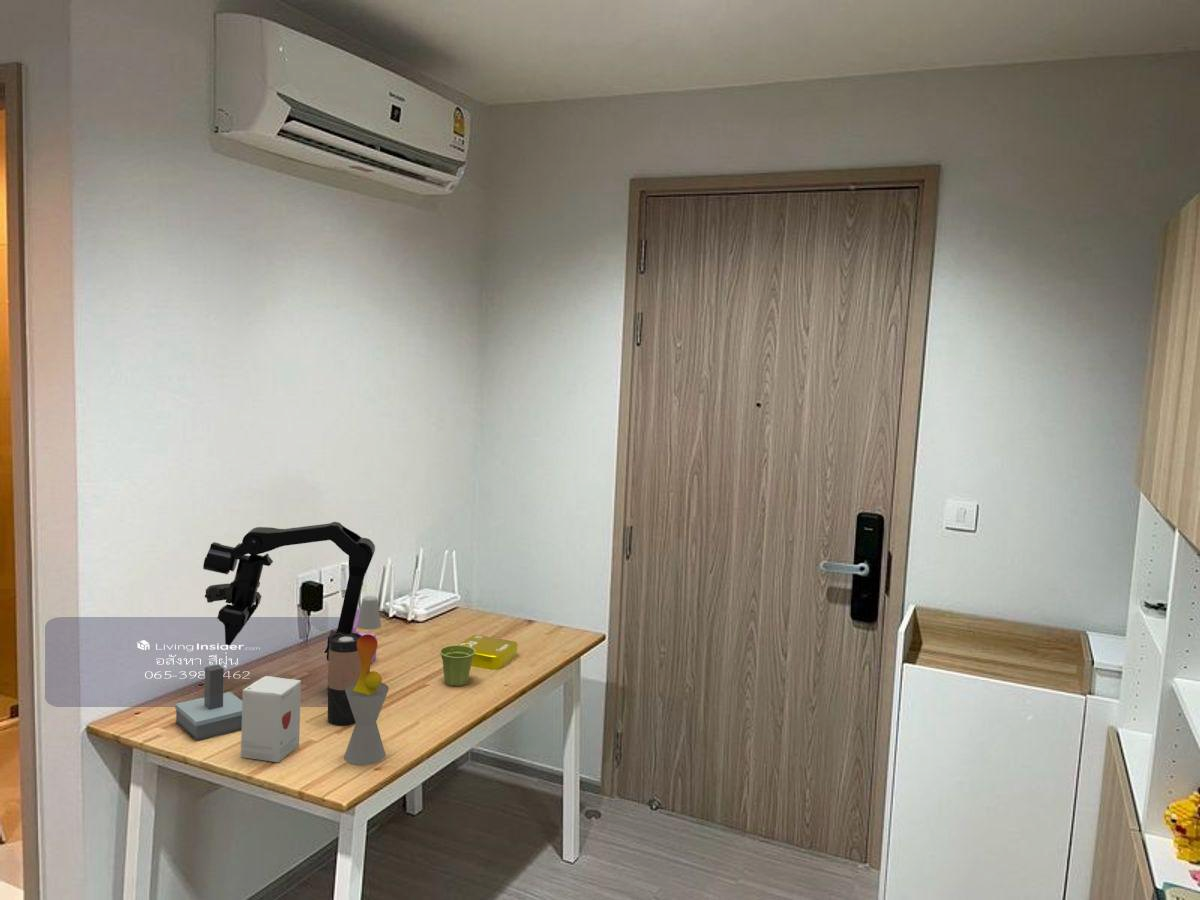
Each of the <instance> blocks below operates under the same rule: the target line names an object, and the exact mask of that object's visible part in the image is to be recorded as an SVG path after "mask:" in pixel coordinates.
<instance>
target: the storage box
mask: <svg viewBox="0 0 1200 900" xmlns="http://www.w3.org/2000/svg"><path fill="white" fill-rule="evenodd" d="M175 710H176V711H175V713H176V714H175V718H176V719H175V722H176V724H177V725H178V726H179V727H180V728H181V729H182V730H184V731H185V732H186V734H187V735H189V736H190V737H191V738H192V737H193V738H192V739H193V740H194V741H196V742H198V741H203V740H208V739H211V738H215V737H218V736H224V735H226V734H229V733H235V732H237V731H242V715H241V716H237V717H233V718H228V719H224V720H220V721H216V722H212V723H208V724H204V725H200V726H195V725H194V724H193V723H192V722H190V721H189V720H188V719H187V718H186V717H185V716H184V715H182V714H181V713H180V712H179V711H178V710H177V709H176V708H175Z"/></svg>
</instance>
